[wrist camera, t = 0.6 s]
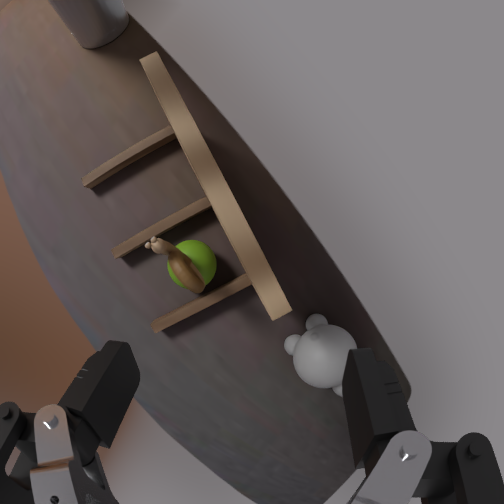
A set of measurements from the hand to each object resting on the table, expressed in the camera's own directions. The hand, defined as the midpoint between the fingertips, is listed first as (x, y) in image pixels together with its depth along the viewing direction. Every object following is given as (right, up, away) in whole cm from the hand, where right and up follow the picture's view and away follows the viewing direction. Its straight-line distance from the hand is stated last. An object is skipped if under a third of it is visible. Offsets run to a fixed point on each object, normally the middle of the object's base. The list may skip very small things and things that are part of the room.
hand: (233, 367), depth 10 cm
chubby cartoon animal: (+10, -9, +27) cm, 30 cm away
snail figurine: (-7, +3, +25) cm, 26 cm away
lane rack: (-10, +7, +24) cm, 27 cm away
